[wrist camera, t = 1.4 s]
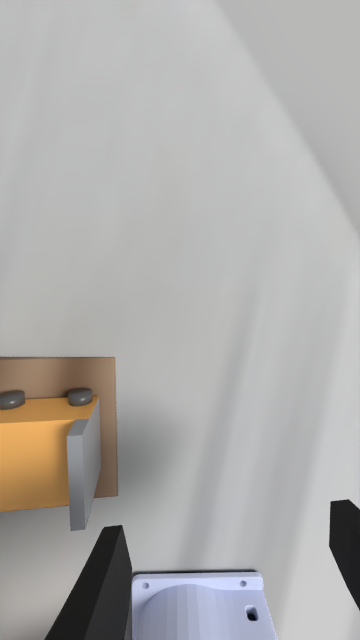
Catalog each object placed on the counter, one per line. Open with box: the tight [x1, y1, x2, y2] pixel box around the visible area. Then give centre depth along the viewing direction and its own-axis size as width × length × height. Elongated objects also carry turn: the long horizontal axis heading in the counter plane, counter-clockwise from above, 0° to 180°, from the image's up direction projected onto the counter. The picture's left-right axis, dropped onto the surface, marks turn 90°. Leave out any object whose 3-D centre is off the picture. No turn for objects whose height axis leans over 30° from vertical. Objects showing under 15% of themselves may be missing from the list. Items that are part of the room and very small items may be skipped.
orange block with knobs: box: [0, 388, 101, 531], centre depth 15 cm, size 6×6×5 cm
